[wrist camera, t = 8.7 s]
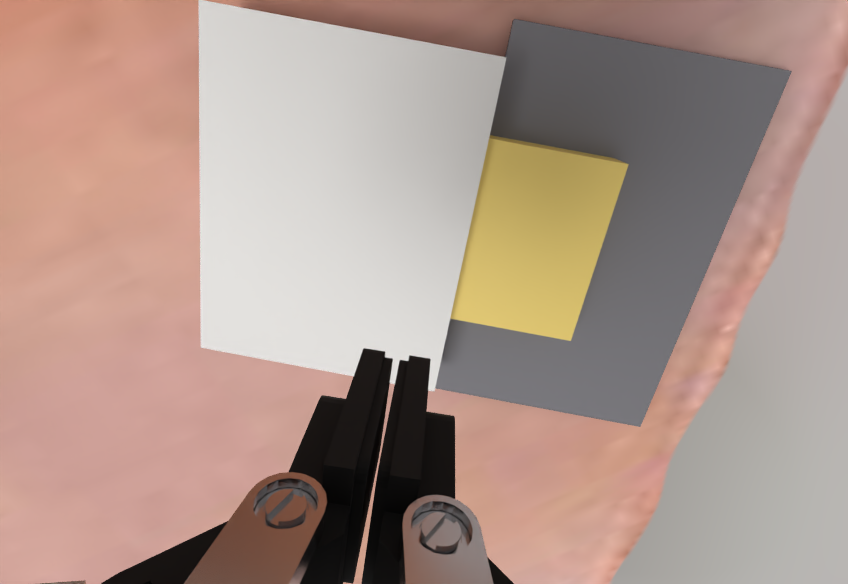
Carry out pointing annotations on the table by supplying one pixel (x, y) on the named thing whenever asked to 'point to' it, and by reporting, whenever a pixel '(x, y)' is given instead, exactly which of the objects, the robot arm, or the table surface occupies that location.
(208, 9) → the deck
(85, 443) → the table surface
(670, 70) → the mat
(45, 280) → the table surface
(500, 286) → the tile
